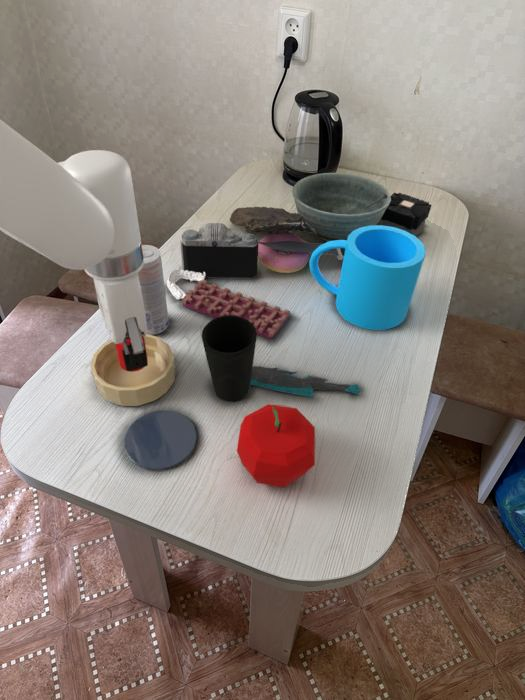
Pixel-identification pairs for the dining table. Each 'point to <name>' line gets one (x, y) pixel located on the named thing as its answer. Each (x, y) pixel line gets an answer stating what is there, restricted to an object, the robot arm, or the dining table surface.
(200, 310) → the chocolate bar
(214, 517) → the dining table surface
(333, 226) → the bowl
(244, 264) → the camera
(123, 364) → the red cylinder
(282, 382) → the knife
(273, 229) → the rock
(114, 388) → the serving bowl
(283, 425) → the apple
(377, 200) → the screw
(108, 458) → the dining table surface
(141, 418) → the dark grey coaster
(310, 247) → the knife
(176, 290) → the false teeth
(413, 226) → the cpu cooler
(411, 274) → the mug
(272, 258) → the doughnut
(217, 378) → the cup
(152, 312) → the beverage can
